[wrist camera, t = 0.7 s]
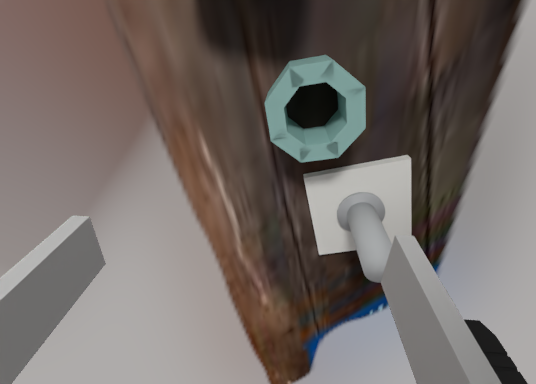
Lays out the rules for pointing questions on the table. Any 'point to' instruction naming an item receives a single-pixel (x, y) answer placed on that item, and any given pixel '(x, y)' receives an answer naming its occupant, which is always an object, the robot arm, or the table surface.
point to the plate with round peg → (361, 209)
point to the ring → (339, 125)
